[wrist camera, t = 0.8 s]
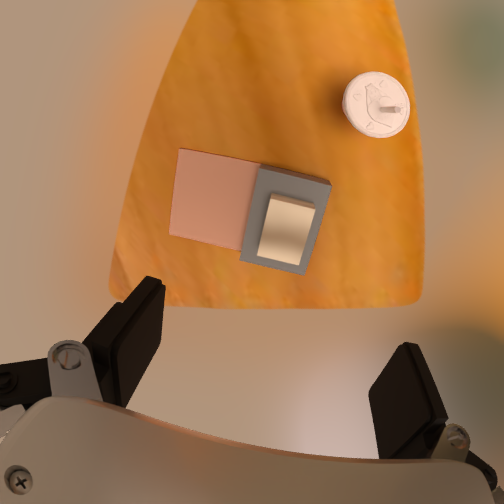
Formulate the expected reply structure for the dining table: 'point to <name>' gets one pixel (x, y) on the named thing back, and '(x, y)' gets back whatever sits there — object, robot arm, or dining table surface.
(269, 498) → the robot arm
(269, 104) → the dining table surface
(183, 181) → the mat
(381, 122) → the smoothie
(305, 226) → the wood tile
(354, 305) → the dining table surface
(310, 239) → the plate
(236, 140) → the dining table surface
